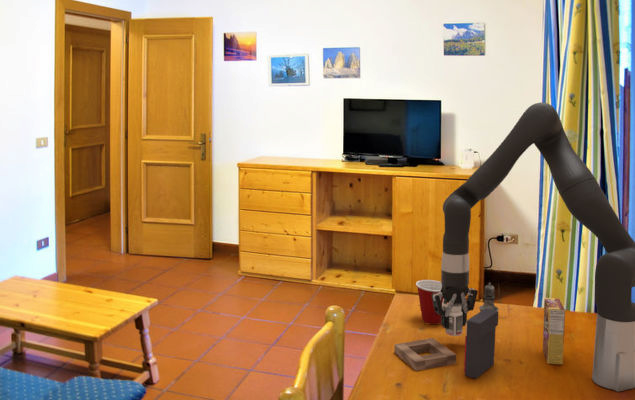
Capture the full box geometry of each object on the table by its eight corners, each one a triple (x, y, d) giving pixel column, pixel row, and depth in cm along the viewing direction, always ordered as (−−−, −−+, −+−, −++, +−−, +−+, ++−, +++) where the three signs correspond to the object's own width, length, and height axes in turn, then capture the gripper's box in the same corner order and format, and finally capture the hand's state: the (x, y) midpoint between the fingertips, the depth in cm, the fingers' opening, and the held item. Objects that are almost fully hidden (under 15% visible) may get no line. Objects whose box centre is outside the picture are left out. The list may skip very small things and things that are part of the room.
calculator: (480, 360, 169) (483, 307, 166) (496, 365, 166) (498, 310, 164) (462, 375, 161) (464, 319, 158) (477, 380, 158) (480, 323, 155)
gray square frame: (456, 363, 167) (456, 354, 167) (415, 371, 163) (416, 361, 163) (432, 346, 179) (432, 338, 178) (394, 352, 174) (394, 344, 174)
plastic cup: (453, 327, 192) (455, 289, 190) (418, 327, 192) (418, 289, 190) (446, 314, 203) (447, 278, 201) (412, 314, 203) (413, 278, 201)
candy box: (541, 350, 176) (544, 297, 173) (557, 351, 175) (560, 298, 172) (545, 363, 167) (548, 308, 164) (562, 365, 166) (566, 309, 163)
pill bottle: (461, 330, 181) (461, 302, 179) (463, 336, 176) (464, 307, 175) (444, 330, 181) (444, 301, 180) (446, 336, 176) (446, 307, 175)
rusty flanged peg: (474, 317, 200) (476, 281, 198) (489, 314, 203) (491, 278, 201) (487, 323, 195) (488, 286, 193) (502, 320, 197) (503, 283, 195)
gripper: (440, 274, 169) (438, 335, 172) (485, 268, 174) (483, 327, 177) (425, 267, 176) (424, 326, 179) (469, 261, 181) (468, 318, 184)
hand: (454, 326), depth 178 cm, fingers closed on pill bottle, 4 cm apart
